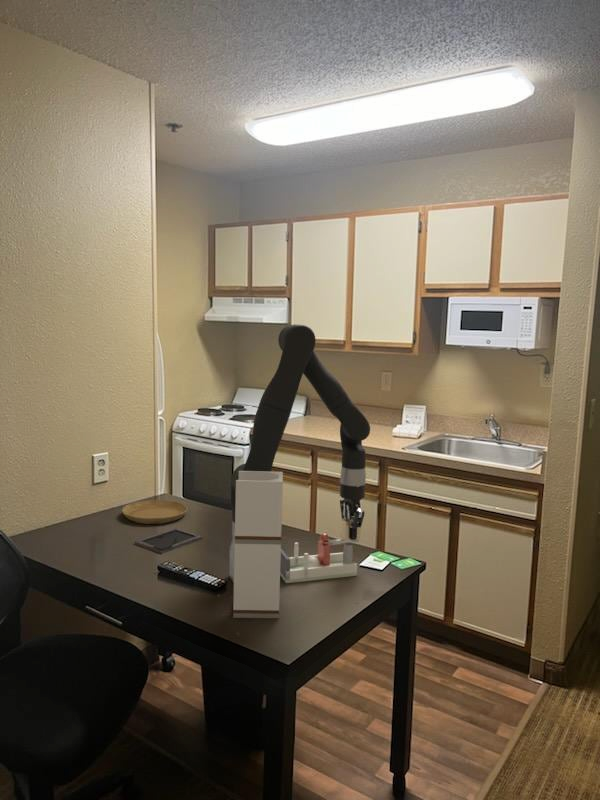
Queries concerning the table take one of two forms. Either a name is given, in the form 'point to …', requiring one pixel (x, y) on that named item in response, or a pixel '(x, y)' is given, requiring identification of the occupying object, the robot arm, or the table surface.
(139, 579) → the table surface
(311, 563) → the ball
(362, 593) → the table surface
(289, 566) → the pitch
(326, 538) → the striker
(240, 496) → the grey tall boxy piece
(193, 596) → the table surface
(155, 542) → the picture frame
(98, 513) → the table surface
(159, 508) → the plant saucer
